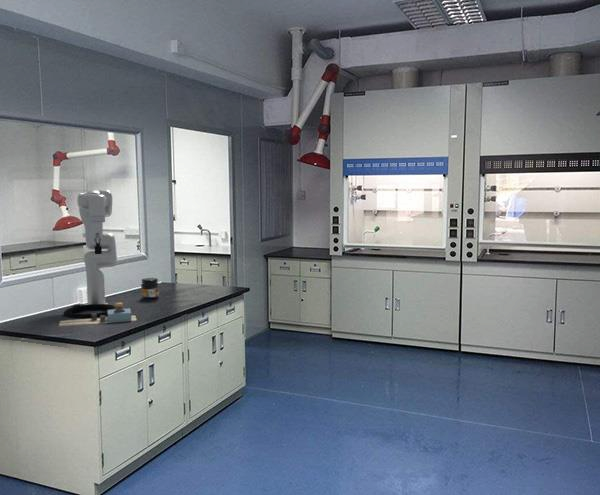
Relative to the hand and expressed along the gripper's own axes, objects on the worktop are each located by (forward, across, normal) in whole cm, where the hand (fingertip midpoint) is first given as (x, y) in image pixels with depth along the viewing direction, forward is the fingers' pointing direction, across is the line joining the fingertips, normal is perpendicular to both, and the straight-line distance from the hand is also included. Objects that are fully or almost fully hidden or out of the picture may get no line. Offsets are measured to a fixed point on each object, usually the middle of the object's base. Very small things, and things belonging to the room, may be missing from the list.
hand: (98, 252), depth 282 cm
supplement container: (+35, -47, +29) cm, 65 cm away
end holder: (+33, +9, +9) cm, 35 cm away
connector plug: (+33, +9, +9) cm, 35 cm away
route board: (+34, +9, -1) cm, 35 cm away
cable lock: (+35, -13, -5) cm, 38 cm away
